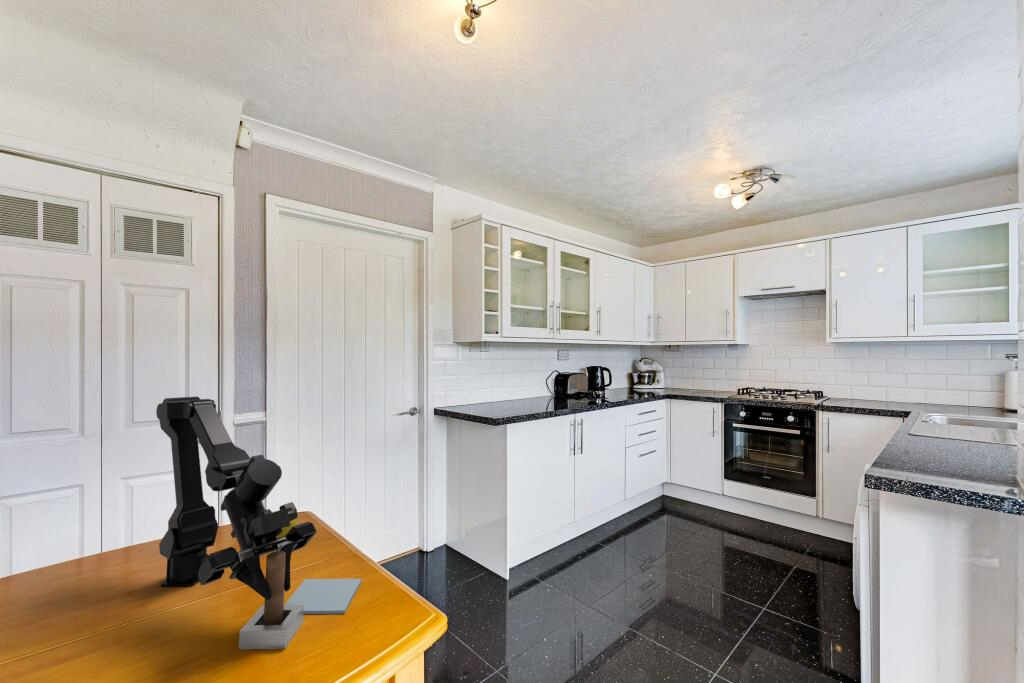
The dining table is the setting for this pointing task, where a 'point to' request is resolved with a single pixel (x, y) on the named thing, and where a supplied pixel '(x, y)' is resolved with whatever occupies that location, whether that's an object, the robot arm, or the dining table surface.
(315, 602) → the rubber mat
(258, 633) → the collar
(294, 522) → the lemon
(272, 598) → the walnut rod
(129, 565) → the dining table surface
